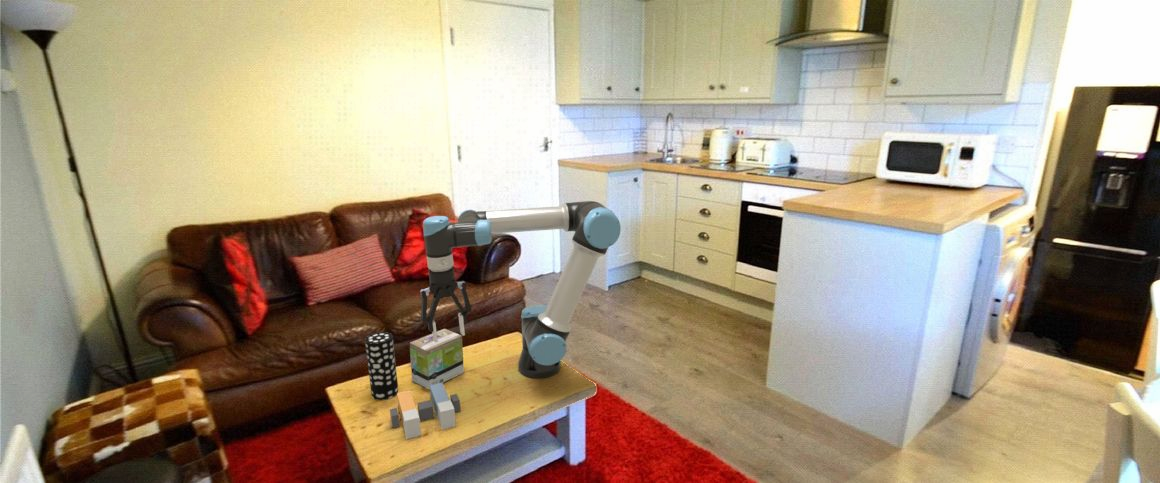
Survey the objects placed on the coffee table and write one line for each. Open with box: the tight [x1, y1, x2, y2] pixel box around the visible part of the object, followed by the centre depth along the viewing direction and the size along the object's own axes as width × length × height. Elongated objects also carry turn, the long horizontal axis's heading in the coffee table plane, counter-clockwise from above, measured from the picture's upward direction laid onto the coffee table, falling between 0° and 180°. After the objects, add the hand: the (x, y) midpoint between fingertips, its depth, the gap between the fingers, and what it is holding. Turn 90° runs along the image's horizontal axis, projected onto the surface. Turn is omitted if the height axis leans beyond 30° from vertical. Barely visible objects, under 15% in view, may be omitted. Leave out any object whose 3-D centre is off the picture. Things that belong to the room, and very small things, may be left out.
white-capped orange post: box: [396, 389, 422, 440], centre depth 159 cm, size 4×18×6 cm, turn 25°
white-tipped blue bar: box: [429, 382, 456, 431], centre depth 163 cm, size 4×18×6 cm, turn 25°
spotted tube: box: [364, 331, 399, 401], centre depth 171 cm, size 8×8×20 cm
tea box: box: [409, 328, 465, 391], centre depth 182 cm, size 15×10×15 cm
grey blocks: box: [389, 393, 461, 429], centre depth 161 cm, size 20×4×4 cm, turn 115°
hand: (449, 336), depth 165 cm, fingers open, 8 cm apart
